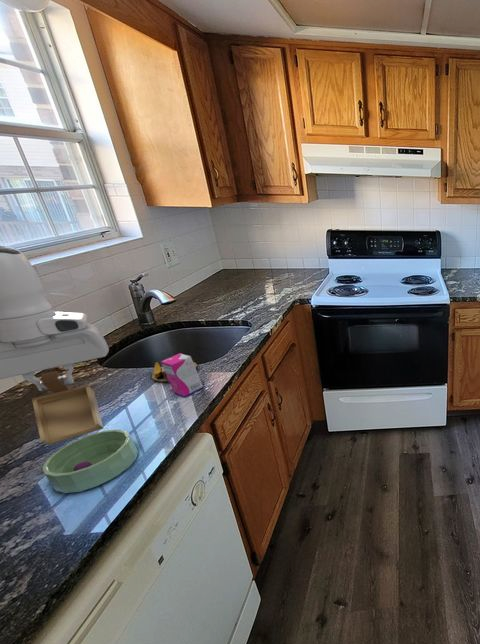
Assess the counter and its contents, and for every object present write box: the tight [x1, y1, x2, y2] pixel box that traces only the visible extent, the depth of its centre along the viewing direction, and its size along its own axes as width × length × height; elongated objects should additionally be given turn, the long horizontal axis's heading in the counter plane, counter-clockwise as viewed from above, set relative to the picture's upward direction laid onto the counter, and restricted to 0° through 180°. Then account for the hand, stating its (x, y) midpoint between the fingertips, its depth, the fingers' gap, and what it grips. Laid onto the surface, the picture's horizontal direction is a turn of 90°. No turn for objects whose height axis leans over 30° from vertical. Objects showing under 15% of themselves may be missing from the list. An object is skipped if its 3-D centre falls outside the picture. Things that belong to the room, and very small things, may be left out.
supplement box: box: [160, 353, 204, 398], centre depth 110 cm, size 6×6×12 cm
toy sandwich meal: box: [151, 361, 198, 383], centre depth 121 cm, size 12×14×5 cm
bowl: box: [42, 429, 139, 494], centre depth 82 cm, size 14×14×6 cm
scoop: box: [31, 370, 104, 446], centre depth 79 cm, size 12×9×9 cm
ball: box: [74, 462, 92, 471], centre depth 81 cm, size 3×3×3 cm
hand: (57, 386), depth 79 cm, fingers closed on scoop, 2 cm apart
